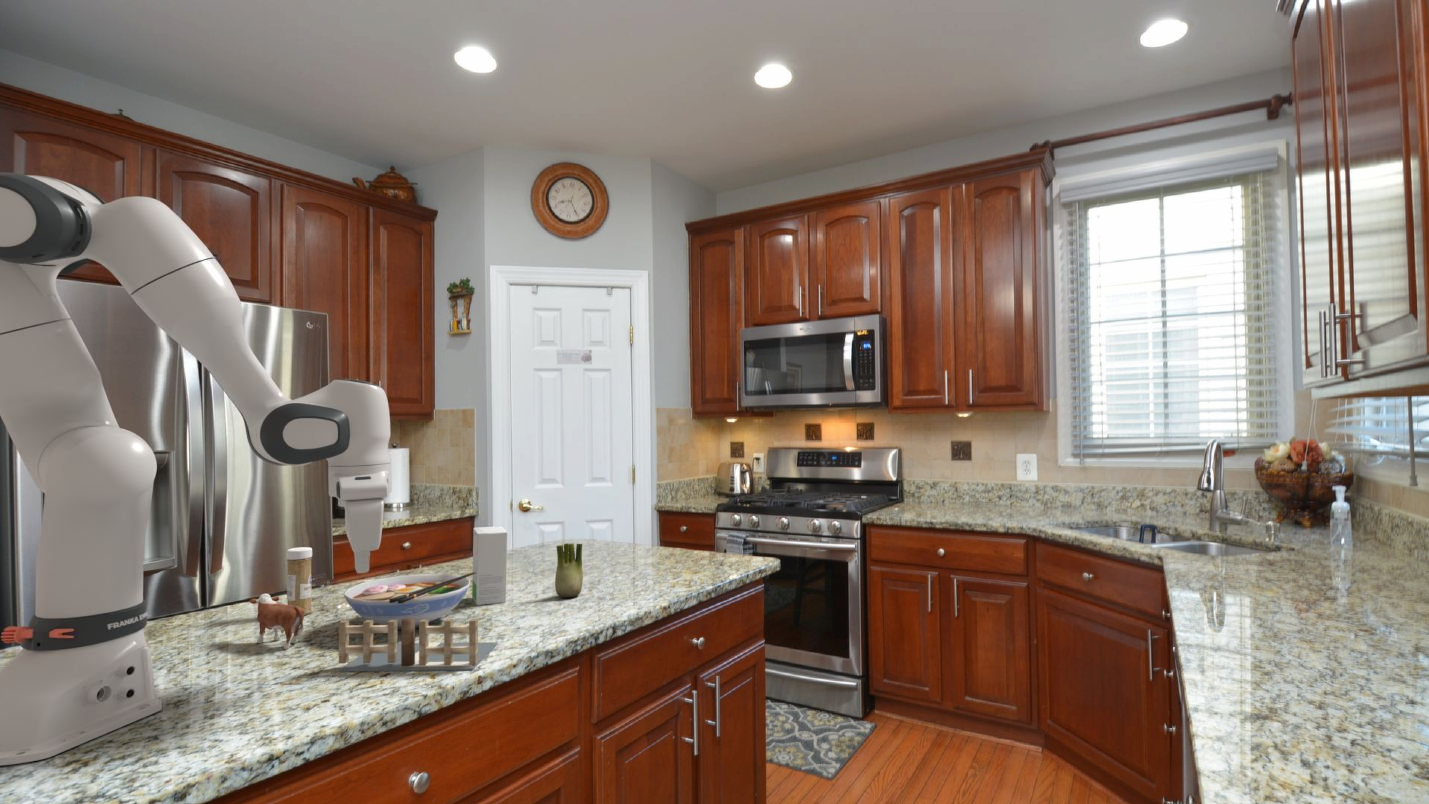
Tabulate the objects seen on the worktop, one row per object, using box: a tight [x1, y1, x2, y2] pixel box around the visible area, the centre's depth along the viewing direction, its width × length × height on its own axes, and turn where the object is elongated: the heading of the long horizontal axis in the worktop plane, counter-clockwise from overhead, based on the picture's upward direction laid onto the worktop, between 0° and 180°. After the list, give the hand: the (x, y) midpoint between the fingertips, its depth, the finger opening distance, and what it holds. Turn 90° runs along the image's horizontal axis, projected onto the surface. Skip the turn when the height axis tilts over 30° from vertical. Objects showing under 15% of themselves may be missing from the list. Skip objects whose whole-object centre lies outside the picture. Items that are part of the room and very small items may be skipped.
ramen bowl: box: [343, 571, 475, 630], centre depth 138 cm, size 25×23×8 cm
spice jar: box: [285, 546, 313, 616], centre depth 146 cm, size 5×5×14 cm
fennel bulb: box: [554, 543, 584, 599], centre depth 158 cm, size 6×5×12 cm
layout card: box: [338, 641, 498, 673], centre depth 118 cm, size 13×21×1 cm, turn 90°
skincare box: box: [471, 525, 508, 606], centre depth 156 cm, size 8×7×16 cm
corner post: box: [400, 618, 416, 666], centre depth 114 cm, size 2×2×8 cm
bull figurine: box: [249, 593, 305, 650], centre depth 126 cm, size 4×13×8 cm, turn 59°
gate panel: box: [338, 619, 398, 664], centre depth 114 cm, size 9×1×6 cm, turn 90°
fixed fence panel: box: [418, 618, 479, 665], centre depth 114 cm, size 9×1×7 cm, turn 90°
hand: (362, 571), depth 111 cm, fingers closed
